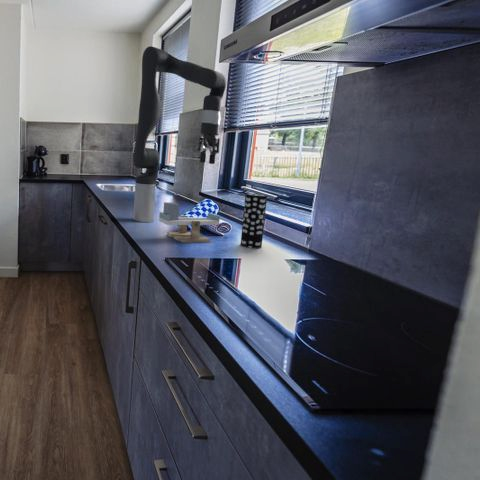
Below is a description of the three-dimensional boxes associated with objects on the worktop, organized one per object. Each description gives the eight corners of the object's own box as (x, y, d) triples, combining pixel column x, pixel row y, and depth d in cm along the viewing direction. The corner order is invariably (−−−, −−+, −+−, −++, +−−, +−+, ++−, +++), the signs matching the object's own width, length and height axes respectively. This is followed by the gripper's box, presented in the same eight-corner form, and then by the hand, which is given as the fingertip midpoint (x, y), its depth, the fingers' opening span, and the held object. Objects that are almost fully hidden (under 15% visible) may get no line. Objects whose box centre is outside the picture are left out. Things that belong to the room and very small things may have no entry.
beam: (158, 220, 167) (159, 211, 166) (208, 220, 179) (209, 212, 178) (167, 225, 160) (168, 215, 159) (219, 224, 171) (220, 216, 171)
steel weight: (163, 217, 166) (163, 202, 164) (173, 217, 168) (174, 202, 167) (167, 219, 162) (168, 204, 161) (178, 219, 164) (179, 204, 163)
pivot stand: (167, 235, 173) (168, 215, 171) (194, 234, 179) (195, 215, 178) (181, 242, 161) (183, 221, 160) (209, 242, 168) (211, 221, 166)
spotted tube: (262, 244, 173) (267, 195, 169) (260, 249, 164) (266, 196, 161) (241, 242, 173) (246, 192, 169) (239, 246, 165) (244, 194, 161)
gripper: (194, 121, 179) (191, 161, 182) (210, 121, 167) (206, 163, 170) (210, 124, 183) (207, 162, 186) (227, 123, 171) (223, 165, 174)
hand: (207, 163), depth 178 cm, fingers open, 8 cm apart
